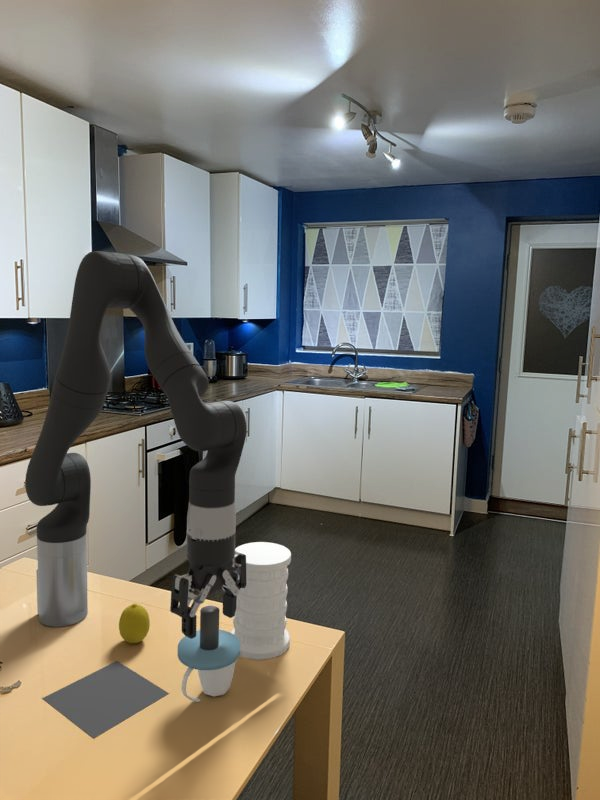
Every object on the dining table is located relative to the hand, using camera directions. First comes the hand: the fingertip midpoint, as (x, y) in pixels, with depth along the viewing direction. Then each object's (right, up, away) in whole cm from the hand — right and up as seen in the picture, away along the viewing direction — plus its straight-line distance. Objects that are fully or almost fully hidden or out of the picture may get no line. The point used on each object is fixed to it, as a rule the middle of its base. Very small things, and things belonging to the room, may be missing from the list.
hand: (209, 625), depth 99 cm
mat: (-17, -12, +1) cm, 21 cm away
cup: (-1, -13, +2) cm, 13 cm away
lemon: (-17, -10, +17) cm, 26 cm away
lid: (0, -5, +1) cm, 5 cm away
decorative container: (+7, -10, +19) cm, 23 cm away
